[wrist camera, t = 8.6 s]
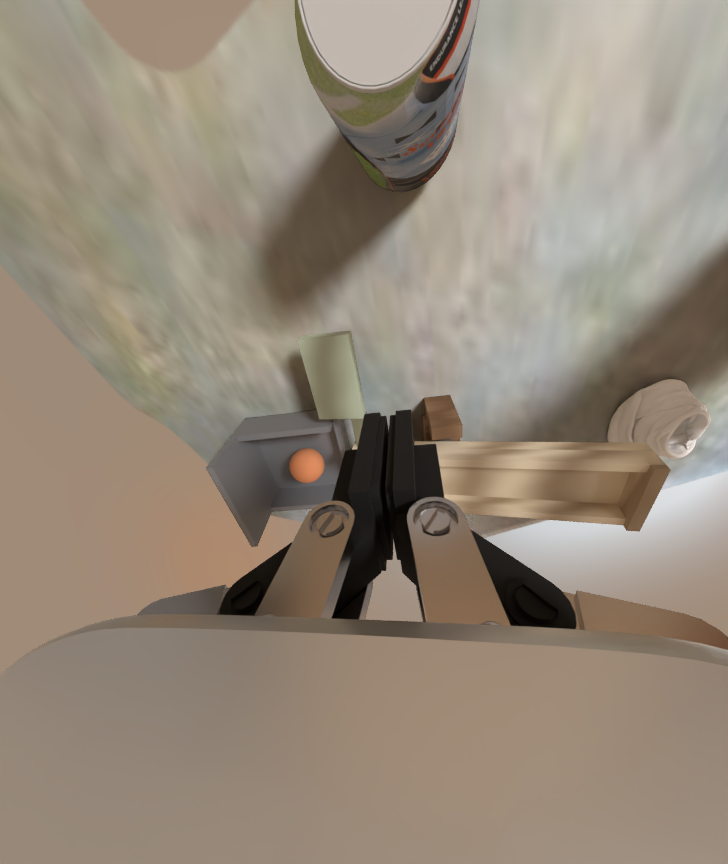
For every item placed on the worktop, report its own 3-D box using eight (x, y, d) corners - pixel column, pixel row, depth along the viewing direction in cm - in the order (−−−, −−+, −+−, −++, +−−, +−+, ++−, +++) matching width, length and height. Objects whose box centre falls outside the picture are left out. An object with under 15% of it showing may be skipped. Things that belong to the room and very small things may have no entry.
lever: (695, 287, 17) (755, 302, 13) (612, 496, 26) (636, 536, 22) (308, 331, 24) (284, 348, 21) (347, 482, 33) (335, 512, 29)
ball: (285, 467, 28) (284, 447, 31) (296, 494, 30) (293, 473, 33) (322, 456, 28) (317, 437, 31) (330, 483, 30) (325, 463, 33)
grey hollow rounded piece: (611, 378, 27) (645, 399, 23) (702, 366, 25) (757, 386, 21) (598, 450, 31) (626, 480, 27) (678, 444, 29) (720, 474, 25)
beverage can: (424, 210, 20) (462, 180, 10) (323, 161, 19) (256, 76, 9) (474, 83, 17) (600, -140, 7) (355, 16, 16) (305, -358, 6)
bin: (340, 407, 29) (327, 456, 23) (358, 483, 35) (351, 541, 28) (245, 418, 31) (205, 467, 24) (276, 489, 36) (251, 546, 29)
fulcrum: (453, 394, 28) (466, 424, 23) (453, 474, 33) (464, 511, 29) (421, 398, 28) (427, 428, 24) (426, 476, 33) (432, 513, 29)
